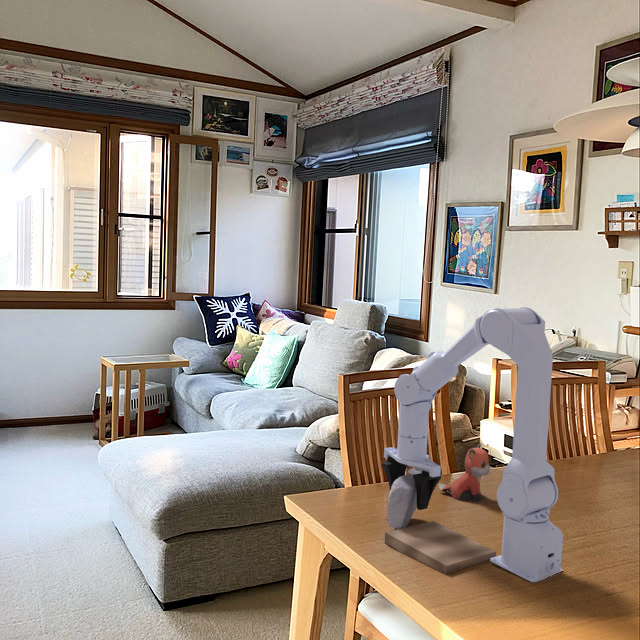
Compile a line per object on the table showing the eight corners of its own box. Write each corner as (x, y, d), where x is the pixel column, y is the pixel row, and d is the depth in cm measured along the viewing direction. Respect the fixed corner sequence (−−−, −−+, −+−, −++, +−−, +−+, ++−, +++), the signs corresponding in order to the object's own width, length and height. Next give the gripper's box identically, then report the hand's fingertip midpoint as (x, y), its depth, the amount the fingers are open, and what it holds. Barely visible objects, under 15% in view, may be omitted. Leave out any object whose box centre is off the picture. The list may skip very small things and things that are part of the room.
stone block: (408, 537, 134) (410, 485, 133) (384, 532, 136) (386, 481, 135) (427, 517, 145) (428, 469, 144) (404, 513, 147) (405, 465, 146)
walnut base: (495, 562, 125) (496, 551, 125) (445, 577, 118) (446, 565, 118) (432, 531, 138) (433, 521, 138) (384, 542, 131) (385, 532, 131)
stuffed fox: (440, 488, 164) (443, 437, 163) (489, 495, 160) (493, 443, 159) (433, 498, 157) (436, 444, 156) (485, 506, 153) (488, 451, 152)
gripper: (454, 441, 136) (449, 510, 137) (404, 424, 148) (400, 488, 149) (426, 445, 132) (422, 517, 133) (377, 428, 144) (373, 493, 145)
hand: (408, 502), depth 141 cm, fingers open, 7 cm apart
